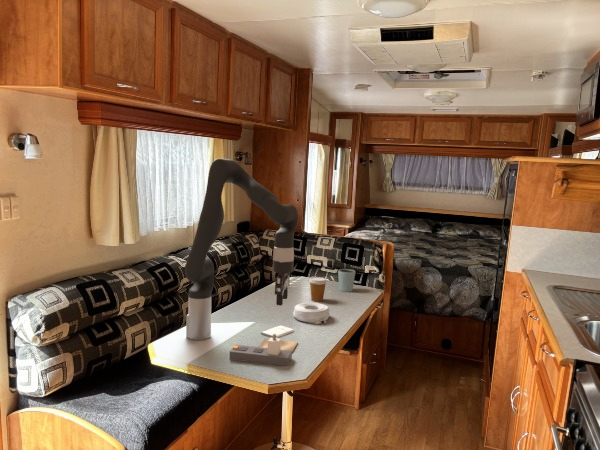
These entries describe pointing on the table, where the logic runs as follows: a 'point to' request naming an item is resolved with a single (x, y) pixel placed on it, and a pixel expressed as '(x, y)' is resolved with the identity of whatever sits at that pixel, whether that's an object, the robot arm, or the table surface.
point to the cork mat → (284, 345)
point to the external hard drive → (277, 331)
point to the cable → (311, 312)
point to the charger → (274, 345)
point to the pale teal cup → (346, 280)
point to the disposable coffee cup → (317, 288)
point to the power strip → (259, 355)
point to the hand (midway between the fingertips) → (281, 301)
